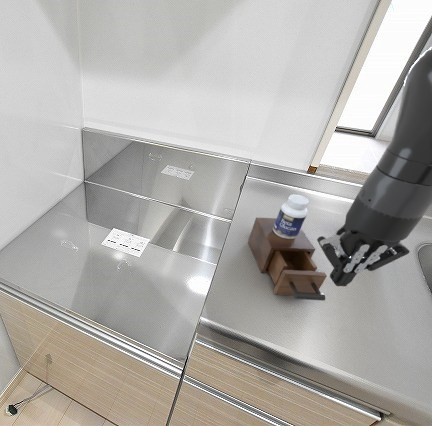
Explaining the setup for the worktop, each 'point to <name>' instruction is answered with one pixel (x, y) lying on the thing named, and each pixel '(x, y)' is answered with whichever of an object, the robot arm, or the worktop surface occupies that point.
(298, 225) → the pill bottle
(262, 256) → the cabinet
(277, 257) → the drawer
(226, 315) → the worktop surface
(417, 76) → the robot arm
